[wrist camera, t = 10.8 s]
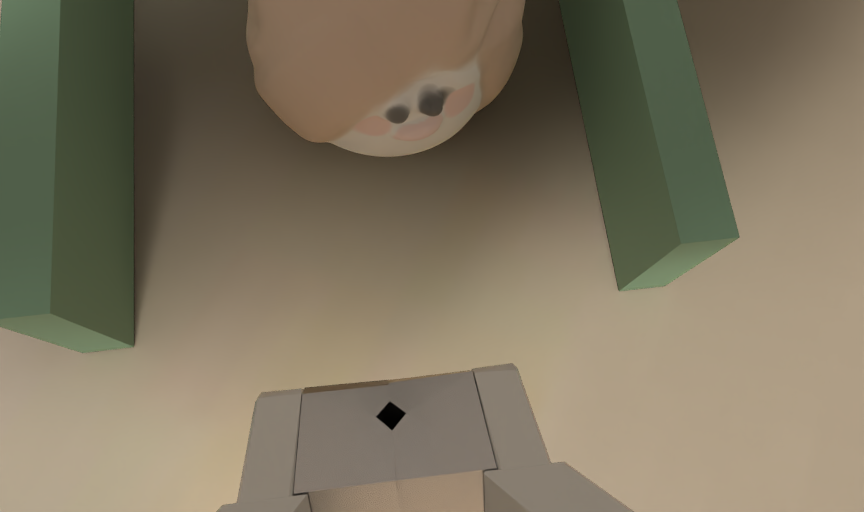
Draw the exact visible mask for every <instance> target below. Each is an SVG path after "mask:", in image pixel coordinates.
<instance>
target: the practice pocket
mask: <svg viewBox="0 0 864 512" xmlns="http://www.w3.org/2000/svg"><path fill="white" fill-rule="evenodd" d="M559 4H560V9H561V14H562V19H563V24H564V28H565V33H566V38H567V43H568V48H569V53H570V57H571V62H572V67H573V72H574V77H575V81H576V86H577V91H578V96H579V101H580V106H581V110H582V115H583V120H584V125H585V130H586V135H587V139H588V144H589V149H590V154H591V159H592V163H593V168H594V173H595V178H596V183H597V188H598V192H599V197H600V202H601V207H602V212H603V217H604V221H605V226H606V231H607V236H608V241H609V245H610V250H611V255H612V260H613V265H614V270H615V274H616V279H617V284H618V289H619V291H626V290H635V289H643V288H652V287H661V286H666V285H667V284H669V283H670V282H672V281H673V280H675V279H676V278H678V277H679V276H681V275H683V274H684V273H686V272H687V271H689V270H690V269H692V268H693V267H695V266H696V265H698V264H699V263H701V262H702V261H704V260H706V259H707V258H709V257H710V256H712V255H713V254H715V253H716V252H718V251H719V250H721V249H722V248H724V247H726V246H727V245H729V244H730V243H732V242H733V241H735V240H736V239H738V238H739V233H738V229H737V225H736V222H735V218H734V214H733V210H732V206H731V203H730V199H729V195H728V191H727V188H726V184H725V180H724V176H723V172H722V169H721V165H720V161H719V157H718V154H717V150H716V146H715V142H714V138H713V135H712V131H711V127H710V123H709V120H708V116H707V112H706V108H705V104H704V101H703V97H702V93H701V89H700V85H699V82H698V78H697V74H696V70H695V67H694V63H693V59H692V55H691V51H690V48H689V44H688V40H687V36H686V33H685V29H684V25H683V21H682V17H681V14H680V10H679V6H678V2H677V0H559ZM0 327H2V328H6V329H9V330H12V331H15V332H18V333H21V334H25V335H28V336H31V337H34V338H37V339H40V340H43V341H47V342H50V343H53V344H56V345H59V346H62V347H66V348H69V349H72V350H75V351H78V352H81V353H86V352H95V351H104V350H112V349H121V348H130V347H134V0H2V8H1V24H0Z"/></svg>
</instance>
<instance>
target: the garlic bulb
mask: <svg viewBox="0 0 864 512" xmlns="http://www.w3.org/2000/svg"><path fill="white" fill-rule="evenodd" d="M525 1H526V0H248V18H247V25H246V41H247V47H248V51H249V55H250V58H251V61H252V63H253V66H254V82H255V87H256V89H257V92H258V93H259V95H260V96H261V97H262V99H263V100H264V101H265V102H266V103H267V105H268V106H269V107H270V108H271V109H272V110H273V111H274V113H275V114H276V115H277V116H278V117H279V118H280V119H281V120H282V121H283V122H284V123H285V124H286V125H287V126H288V127H290V128H291V129H292V130H293V131H294V132H296V133H297V134H298V135H299V136H301V137H302V138H304V139H306V140H308V141H311V142H316V143H321V142H330V143H332V144H334V145H336V146H338V147H341V148H343V149H346V150H349V151H352V152H355V153H359V154H364V155H369V156H378V157H396V156H405V155H411V154H415V153H419V152H422V151H425V150H428V149H431V148H433V147H435V146H437V145H439V144H441V143H443V142H445V141H446V140H448V139H449V138H451V137H452V136H453V135H455V134H456V133H457V132H458V131H459V130H460V129H461V128H462V127H463V126H464V125H465V124H466V123H467V122H468V121H469V120H470V119H471V117H472V116H473V115H474V113H476V112H478V111H479V110H481V109H483V108H484V107H485V106H487V105H488V104H489V103H491V102H492V101H493V100H494V99H495V98H496V97H497V95H498V94H499V93H500V92H501V90H502V89H503V87H504V86H505V84H506V83H507V81H508V79H509V78H510V76H511V74H512V72H513V69H514V67H515V65H516V62H517V59H518V56H519V53H520V49H521V45H522V41H523V27H522V17H523V12H524V7H525Z"/></svg>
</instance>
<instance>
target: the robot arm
mask: <svg viewBox="0 0 864 512" xmlns="http://www.w3.org/2000/svg"><path fill="white" fill-rule="evenodd" d="M216 512H634V511H632V510H631V509H630V508H628V507H627V506H625V505H624V504H623V503H621V502H620V501H618V500H617V499H616V498H614V497H613V496H612V495H610V494H609V493H607V492H606V491H605V490H603V489H602V488H600V487H599V486H598V485H596V484H595V483H593V482H592V481H591V480H589V479H588V478H586V477H585V476H584V475H582V474H581V473H580V472H578V471H577V470H575V469H574V468H573V467H571V466H570V465H568V464H567V463H566V462H558V463H551V461H550V458H549V455H548V453H547V450H546V447H545V444H544V441H543V439H542V436H541V433H540V430H539V427H538V425H537V422H536V419H535V416H534V413H533V411H532V408H531V405H530V402H529V399H528V397H527V394H526V391H525V388H524V385H523V383H522V380H521V377H520V374H519V371H518V369H517V367H516V366H515V365H514V364H512V363H510V364H503V365H495V366H488V367H481V368H474V369H472V370H471V371H470V370H468V371H460V372H452V373H443V374H435V375H427V376H419V377H411V378H402V379H394V380H381V381H370V382H360V383H349V384H338V385H328V386H317V387H306V388H305V389H291V390H281V391H272V392H262V393H261V394H260V395H259V397H258V398H257V400H256V401H255V407H254V412H253V417H252V423H251V428H250V434H249V439H248V445H247V450H246V455H245V461H244V466H243V472H242V477H241V482H240V488H239V493H238V499H237V503H234V504H226V505H222V506H221V507H220V508H219V509H218V510H217V511H216Z"/></svg>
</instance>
